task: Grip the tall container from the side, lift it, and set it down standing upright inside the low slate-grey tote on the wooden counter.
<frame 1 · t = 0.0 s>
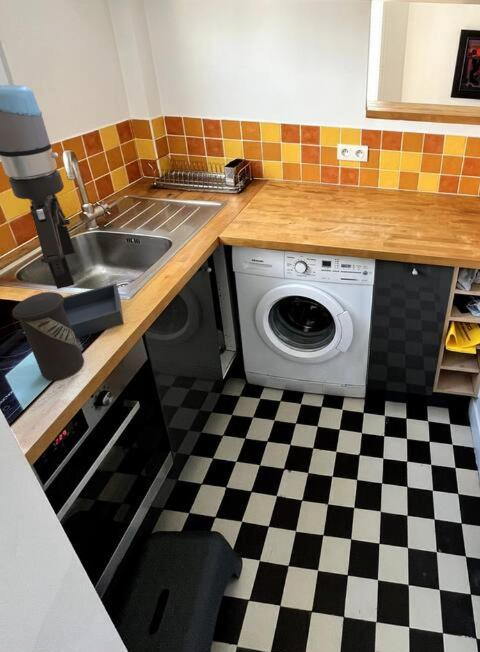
hand: (67, 269, 81), 29 cm above the worktop, tool pointing down, fingers open, 13 cm apart
container: (64, 368, 93), on the worktop
tote: (91, 317, 109), on the worktop
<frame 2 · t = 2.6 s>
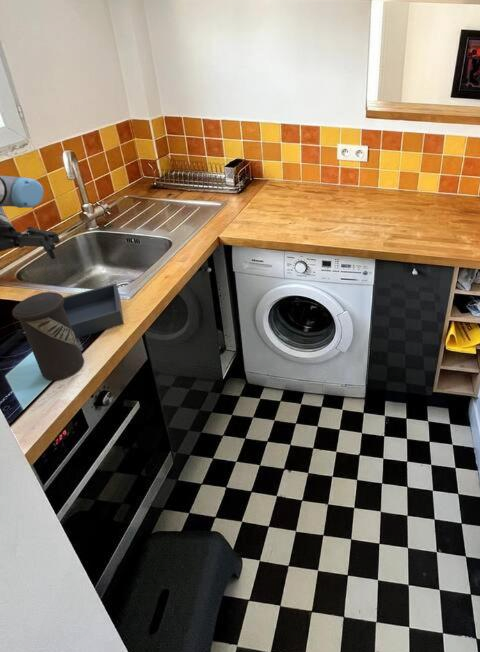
hand: (15, 266, 87), 25 cm above the worktop, tool horizontal, fingers open, 13 cm apart
nothing on the worktop moved.
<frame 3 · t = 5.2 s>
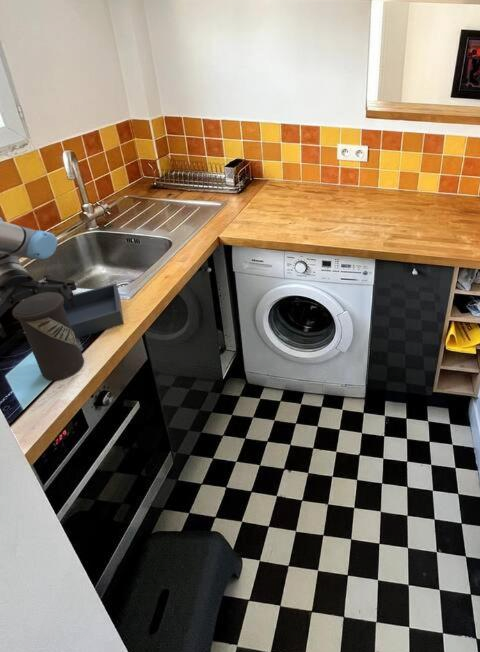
hand: (39, 317, 92), 11 cm above the worktop, tool horizontal, fingers open, 13 cm apart
nothing on the worktop moved.
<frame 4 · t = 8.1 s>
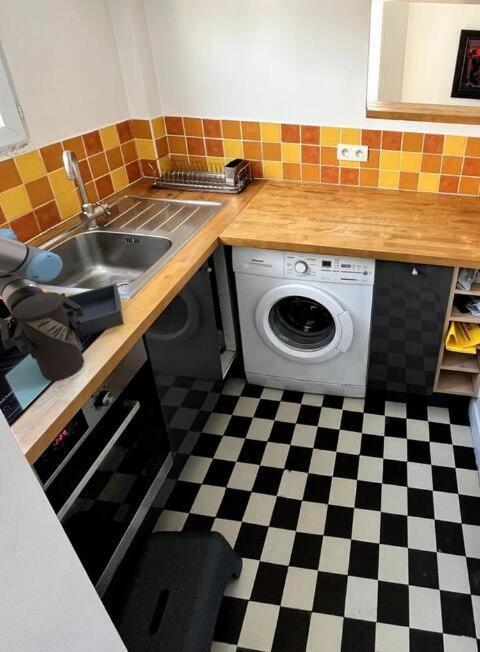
hand: (57, 342, 86), 11 cm above the worktop, tool horizontal, fingers closed on container, 8 cm apart
container: (64, 368, 93), on the worktop, touching gripper
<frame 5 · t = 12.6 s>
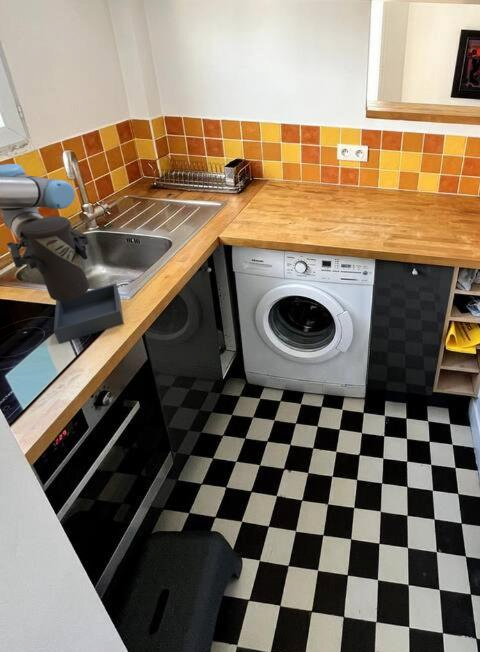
hand: (64, 261, 91), 24 cm above the worktop, tool horizontal, fingers closed on container, 8 cm apart
container: (70, 292, 98), point 13 cm above the worktop, touching gripper
when the fingers open (11 cm above the worktop, at t = 17.2 s): container stays where it is, resting on tote.
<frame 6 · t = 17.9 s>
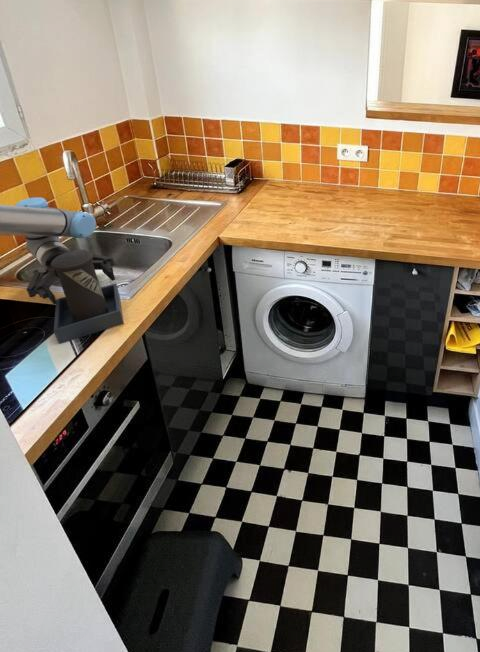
hand: (84, 287, 102), 12 cm above the worktop, tool horizontal, fingers open, 13 cm apart
container: (91, 316, 109), resting on tote
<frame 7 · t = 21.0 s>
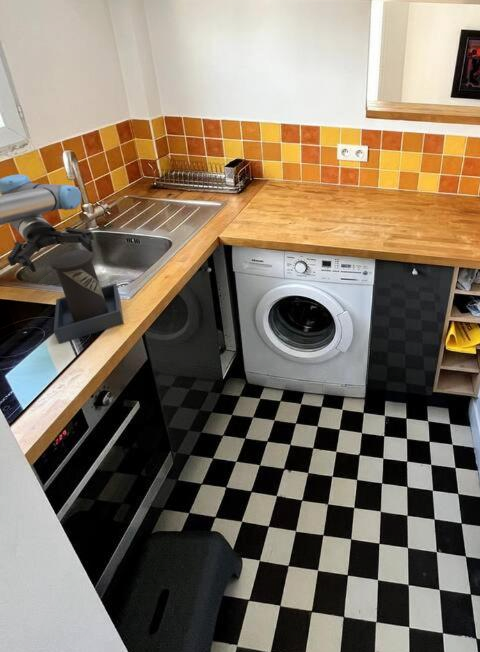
hand: (63, 257, 107), 16 cm above the worktop, tool horizontal, fingers open, 13 cm apart
nothing on the worktop moved.
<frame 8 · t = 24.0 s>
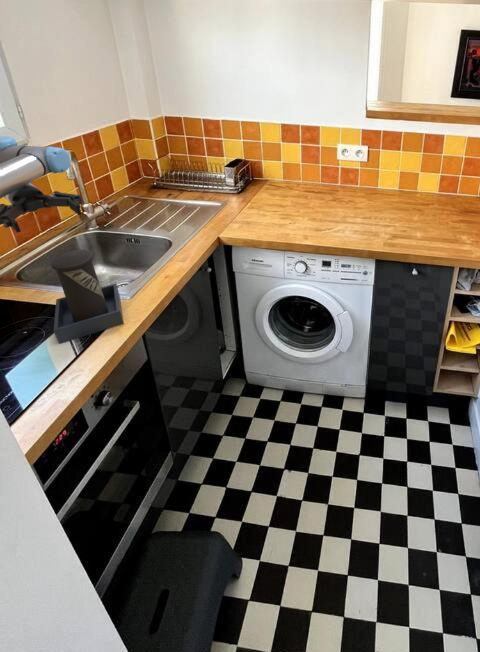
hand: (49, 218, 102), 28 cm above the worktop, tool horizontal, fingers open, 13 cm apart
nothing on the worktop moved.
at the end: container 0.0 cm off-centre in the tote, point 0.3 cm above the tote's base; container tilted 0°; the gripper is holding nothing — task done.
